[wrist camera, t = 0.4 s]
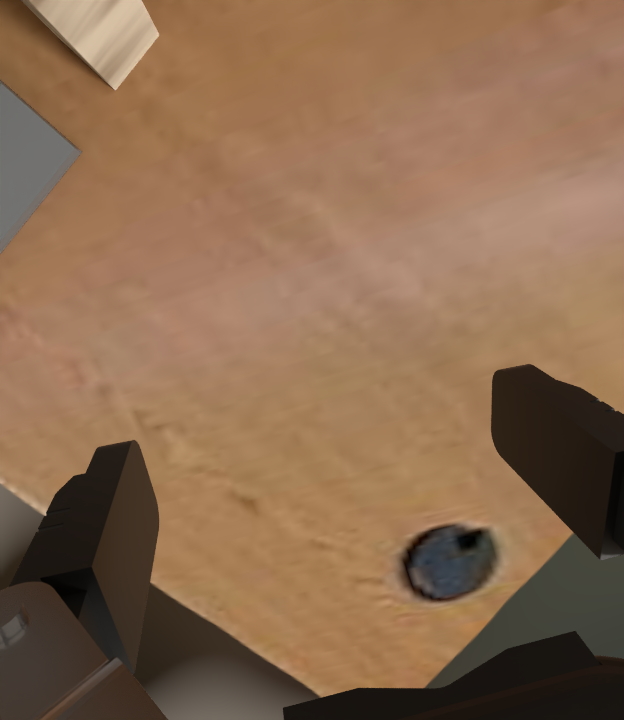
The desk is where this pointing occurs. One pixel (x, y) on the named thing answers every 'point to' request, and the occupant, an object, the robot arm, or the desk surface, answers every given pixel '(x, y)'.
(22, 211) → the slate base plate
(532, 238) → the desk surface
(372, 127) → the desk surface
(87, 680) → the robot arm
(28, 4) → the birch post
